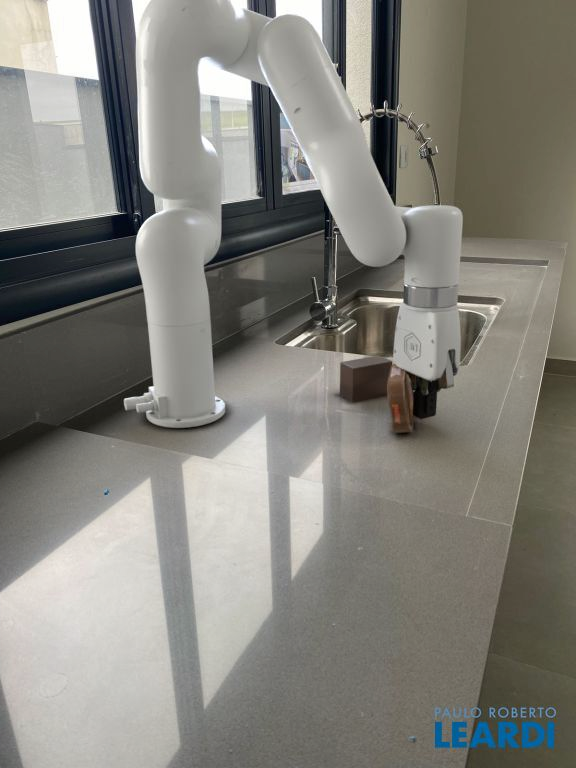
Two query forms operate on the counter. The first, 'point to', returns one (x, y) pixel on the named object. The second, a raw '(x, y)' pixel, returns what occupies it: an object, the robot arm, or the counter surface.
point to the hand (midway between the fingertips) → (424, 415)
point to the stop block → (364, 378)
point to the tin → (400, 400)
